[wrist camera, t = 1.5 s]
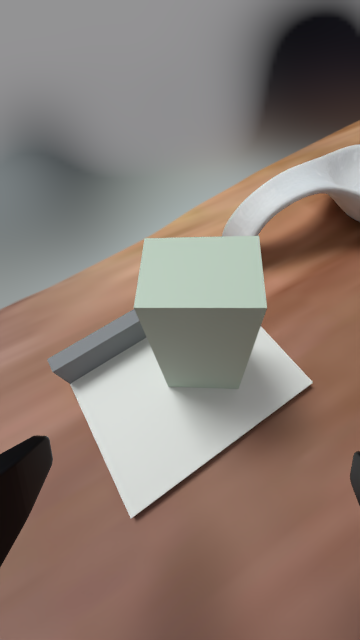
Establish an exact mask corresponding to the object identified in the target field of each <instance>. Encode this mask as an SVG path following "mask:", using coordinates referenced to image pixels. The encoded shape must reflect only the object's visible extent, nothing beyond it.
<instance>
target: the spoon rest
mask: <svg viewBox="0 0 360 640" xmlns="http://www.w3.org/2000/svg"><path fill="white" fill-rule="evenodd" d="M319 193H325V194H328V195H329V196H330V197H331V198H332V199H333V200H334V201H335V202H336V203H337V204H338V206H339V207H340V208H341V209H342V210H343V211H344V212H345V213H346V214H347V215H348V216H349V217H351V218H352V219H354V220H356V221H359V222H360V145H353V146H349V147H345V148H342V149H339V150H336V151H334V152H332V153H329V154H327V155H324V156H322V157H319V158H317V159H314V160H311V161H308V162H305V163H303V164H300V165H297V166H295V167H292V168H290V169H288V170H286V171H284V172H282V173H280V174H278V175H277V176H275V177H273V178H272V179H270V180H269V181H267V182H266V183H265V184H263V185H262V186H261V187H259V188H258V189H257V190H256V191H254V192H253V193H252V194H251V195H250V196H249V197H247V198H246V199H245V200H244V201H243V202H242V203H241V204H240V206H239V207H238V208H237V209H236V210H235V212H234V213H233V214H232V216H231V217H230V219H229V220H228V222H227V224H226V226H225V228H224V231H223V234H222V237H226V236H258V234H259V233H260V231H261V230H262V228H263V227H264V226H265V225H266V224H267V222H268V221H269V220H270V219H272V218H273V217H274V216H275V215H276V214H277V213H279V212H280V211H281V210H283V209H285V208H286V207H288V206H289V205H291V204H292V203H294V202H296V201H298V200H300V199H302V198H304V197H307V196H310V195H314V194H319Z"/></svg>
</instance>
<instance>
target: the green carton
mask: <svg viewBox="0 0 360 640" xmlns="http://www.w3.org/2000/svg"><path fill="white" fill-rule="evenodd" d="M134 309H135V312H136V314H137V316H138V318H139V321H140V323H141V325H142V328H143V330H144V332H145V335H146V337H147V339H148V341H149V344H150V346H151V348H152V351H153V353H154V355H155V357H156V360H157V362H158V364H159V367H160V369H161V371H162V374H163V376H164V378H165V380H166V383H167V385H168V387H193V388H226V389H239V386H240V384H241V381H242V378H243V375H244V372H245V369H246V366H247V364H248V361H249V358H250V355H251V352H252V349H253V346H254V344H255V341H256V338H257V335H258V332H259V329H260V326H261V324H262V321H263V318H264V315H265V312H266V309H267V304H266V295H265V286H264V277H263V268H262V259H261V250H260V241H259V236H226V237H184V238H145V239H144V246H143V252H142V259H141V265H140V272H139V278H138V284H137V291H136V297H135V304H134Z"/></svg>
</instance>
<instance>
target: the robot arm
mask: <svg viewBox="0 0 360 640" xmlns="http://www.w3.org/2000/svg"><path fill="white" fill-rule="evenodd" d="M52 461H53V457H52V451H51V446H50V440H49V438H48V437H47V436H33V437H31V438H29V439H27V440H25V441H23V442H22V443H20V444H18V445H16V446H14V447H13V448H11V449H9V450H7V451H5V452H3V453H2V454H0V567H1V565H2V563H3V561H4V560H5V558H6V556H7V554H8V553H9V551H10V549H11V547H12V545H13V544H14V542H15V540H16V538H17V536H18V535H19V533H20V531H21V529H22V528H23V526H24V524H25V522H26V520H27V518H28V516H29V514H30V512H31V510H32V508H33V506H34V503H35V501H36V499H37V497H38V495H39V492H40V490H41V488H42V486H43V483H44V481H45V479H46V477H47V475H48V472H49V470H50V468H51V465H52ZM350 480H351V484H352V487H353V490H354V492H355V495H356V498H357V500H358V503H359V505H360V451H357V452H355V454H354V456H353V461H352V467H351V473H350Z"/></svg>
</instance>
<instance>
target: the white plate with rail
mask: <svg viewBox="0 0 360 640" xmlns="http://www.w3.org/2000/svg"><path fill="white" fill-rule="evenodd" d="M47 360H48V362H49V365H50V367H51V369H52V372H53V373H55V374H56V375H58V376H59V377H61V378H62V379H64V380H65V381H67V382H68V383H70V385H71V387H72V389H73V391H74V394H75V396H76V398H77V400H78V402H79V405H80V407H81V409H82V411H83V414H84V416H85V418H86V420H87V422H88V425H89V427H90V429H91V431H92V434H93V436H94V438H95V440H96V442H97V445H98V447H99V449H100V451H101V453H102V456H103V458H104V460H105V462H106V465H107V467H108V469H109V471H110V473H111V476H112V478H113V480H114V482H115V485H116V487H117V489H118V491H119V493H120V496H121V498H122V500H123V502H124V505H125V507H126V509H127V511H128V513H129V516H130V518H133V517H134V516H136V515H137V514H138V513H140V512H141V511H142V510H144V509H145V508H146V507H148V506H149V505H150V504H152V503H153V502H154V501H156V500H157V499H158V498H160V497H161V496H162V495H164V494H165V493H166V492H168V491H169V490H170V489H172V488H173V487H174V486H176V485H177V484H178V483H180V482H181V481H182V480H184V479H185V478H186V477H188V476H189V475H190V474H192V473H193V472H194V471H196V470H197V469H198V468H200V467H201V466H202V465H204V464H205V463H206V462H208V461H209V460H210V459H212V458H213V457H214V456H216V455H217V454H218V453H220V452H221V451H222V450H224V449H225V448H226V447H228V446H229V445H231V444H232V443H233V442H235V441H236V440H237V439H239V438H240V437H241V436H243V435H244V434H245V433H247V432H248V431H249V430H251V429H252V428H253V427H255V426H256V425H257V424H259V423H260V422H261V421H263V420H264V419H265V418H267V417H268V416H269V415H271V414H272V413H273V412H275V411H276V410H277V409H279V408H280V407H281V406H283V405H284V404H285V403H287V402H288V401H289V400H291V399H292V398H293V397H295V396H296V395H297V394H299V393H300V392H301V391H303V390H304V389H305V388H307V387H308V386H309V385H311V384H312V383H313V382H312V381H311V380H310V379H309V378H308V377H307V376H306V374H305V373H304V372H303V371H302V370H301V369H300V368H299V367H298V366H297V365H296V364H295V363H294V362H293V360H292V359H291V358H290V357H289V356H288V355H287V354H286V353H285V352H284V351H283V350H282V349H281V348H280V346H279V345H278V344H277V343H276V342H275V341H274V340H273V339H272V338H271V337H270V336H269V335H268V334H267V332H266V331H265V330H264V329H263V328H262V327H261V326H260V329H259V332H258V335H257V338H256V341H255V344H254V346H253V349H252V352H251V355H250V358H249V361H248V364H247V366H246V369H245V372H244V375H243V378H242V381H241V384H240V386H239V389H226V388H193V387H168V385H167V383H166V380H165V378H164V376H163V374H162V371H161V369H160V367H159V364H158V362H157V360H156V357H155V355H154V353H153V351H152V348H151V346H150V344H149V341H148V339H147V337H146V335H145V332H144V330H143V328H142V325H141V323H140V321H139V318H138V316H137V314H136V312H135V309H133V310H132V311H130V312H128V313H127V314H125V315H123V316H121V317H120V318H118V319H116V320H114V321H113V322H111V323H109V324H107V325H106V326H104V327H102V328H101V329H99V330H97V331H95V332H94V333H92V334H90V335H88V336H87V337H85V338H83V339H81V340H80V341H78V342H76V343H75V344H73V345H71V346H69V347H68V348H66V349H64V350H62V351H61V352H59V353H57V354H55V355H54V356H52V357H50V358H49V359H47Z"/></svg>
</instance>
